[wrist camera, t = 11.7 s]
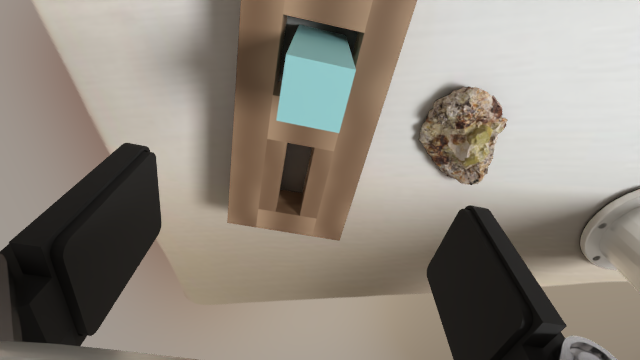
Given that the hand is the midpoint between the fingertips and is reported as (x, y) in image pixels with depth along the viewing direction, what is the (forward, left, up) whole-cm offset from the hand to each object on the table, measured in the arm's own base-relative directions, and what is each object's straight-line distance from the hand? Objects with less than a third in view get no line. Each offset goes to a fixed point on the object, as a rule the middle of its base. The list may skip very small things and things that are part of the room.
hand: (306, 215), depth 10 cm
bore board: (0, +5, -22) cm, 23 cm away
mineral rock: (-15, +5, -22) cm, 28 cm away
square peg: (0, 0, -22) cm, 22 cm away
